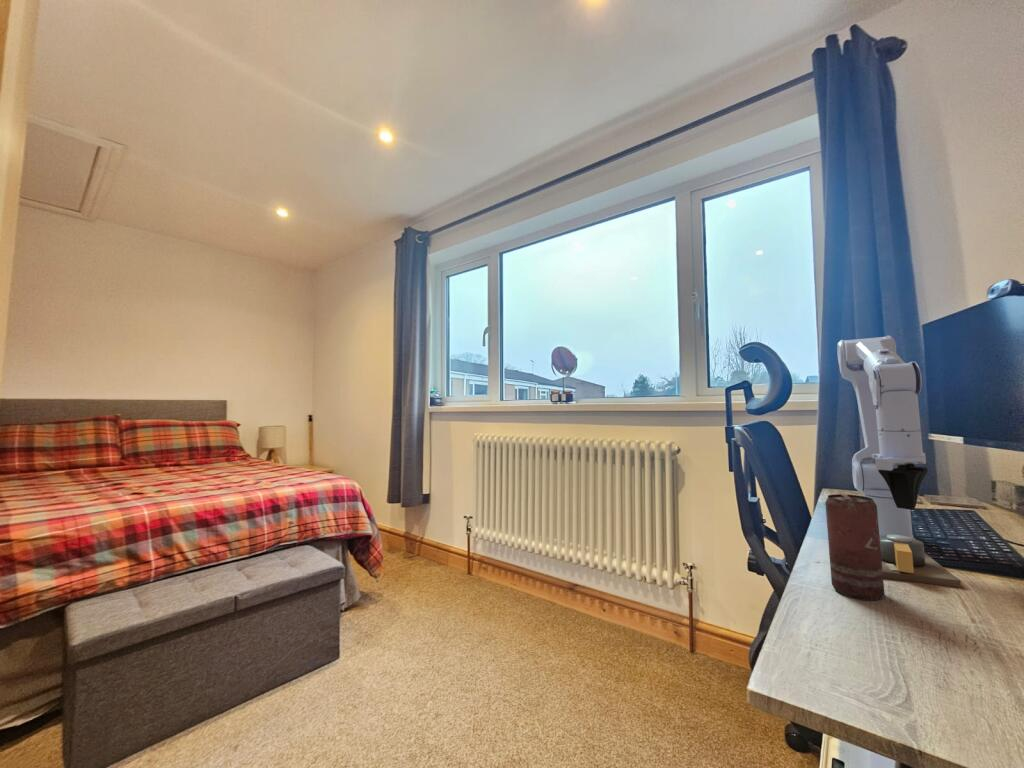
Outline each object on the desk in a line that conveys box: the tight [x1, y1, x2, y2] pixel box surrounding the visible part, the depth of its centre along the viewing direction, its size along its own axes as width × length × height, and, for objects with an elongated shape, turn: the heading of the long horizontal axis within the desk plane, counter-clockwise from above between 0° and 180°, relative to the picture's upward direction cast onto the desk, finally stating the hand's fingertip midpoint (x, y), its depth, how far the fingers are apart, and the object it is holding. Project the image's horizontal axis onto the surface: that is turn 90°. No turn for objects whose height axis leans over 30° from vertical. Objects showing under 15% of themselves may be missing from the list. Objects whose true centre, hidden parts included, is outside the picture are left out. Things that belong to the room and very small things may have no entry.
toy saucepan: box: [880, 535, 926, 573], centre depth 71 cm, size 10×6×4 cm, turn 142°
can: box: [824, 493, 885, 601], centre depth 64 cm, size 6×6×14 cm
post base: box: [882, 552, 962, 588], centre depth 72 cm, size 14×10×1 cm
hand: (905, 508), depth 75 cm, fingers closed
